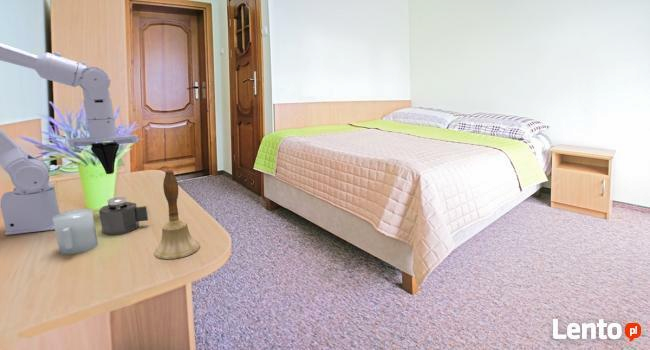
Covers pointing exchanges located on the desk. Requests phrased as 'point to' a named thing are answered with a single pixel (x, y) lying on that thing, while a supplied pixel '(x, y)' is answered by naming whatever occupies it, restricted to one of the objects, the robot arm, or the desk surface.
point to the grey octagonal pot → (122, 218)
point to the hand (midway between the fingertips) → (110, 173)
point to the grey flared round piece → (117, 202)
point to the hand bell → (174, 226)
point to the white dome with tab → (75, 231)
